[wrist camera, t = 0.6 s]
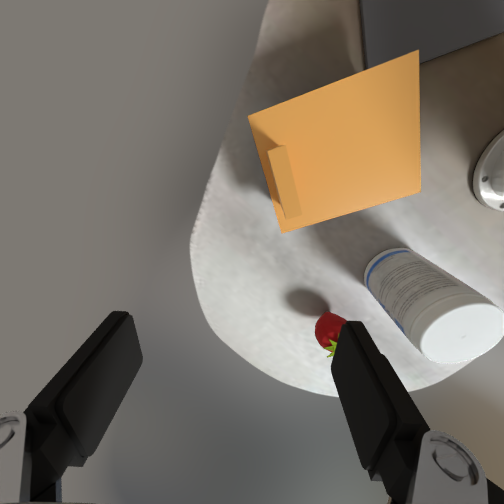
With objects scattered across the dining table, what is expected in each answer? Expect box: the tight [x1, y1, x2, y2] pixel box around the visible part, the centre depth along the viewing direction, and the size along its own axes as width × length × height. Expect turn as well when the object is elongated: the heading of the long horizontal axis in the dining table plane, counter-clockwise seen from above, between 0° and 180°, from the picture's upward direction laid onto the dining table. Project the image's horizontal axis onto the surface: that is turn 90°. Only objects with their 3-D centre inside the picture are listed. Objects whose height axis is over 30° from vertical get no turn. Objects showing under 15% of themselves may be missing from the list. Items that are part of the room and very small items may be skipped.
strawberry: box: [315, 312, 347, 357], centre depth 38 cm, size 6×8×10 cm
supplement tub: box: [364, 248, 504, 364], centre depth 32 cm, size 10×10×15 cm
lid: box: [248, 50, 421, 233], centre depth 22 cm, size 16×13×8 cm
